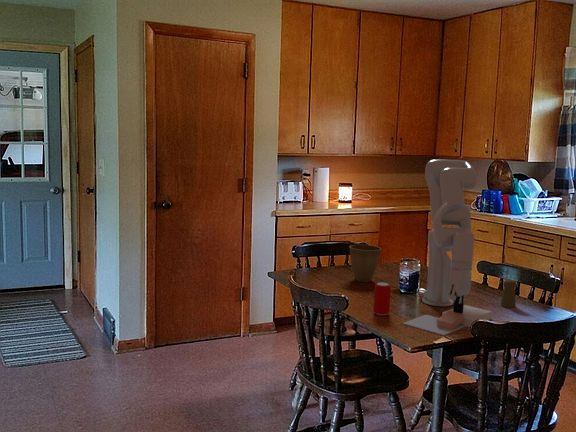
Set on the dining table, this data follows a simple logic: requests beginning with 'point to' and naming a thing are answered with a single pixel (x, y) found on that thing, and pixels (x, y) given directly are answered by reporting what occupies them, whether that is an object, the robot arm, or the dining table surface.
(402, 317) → the dining table surface
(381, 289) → the beverage can
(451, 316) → the terracotta tile
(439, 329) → the mat
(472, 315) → the grey flat block
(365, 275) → the plant pot
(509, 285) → the cork
